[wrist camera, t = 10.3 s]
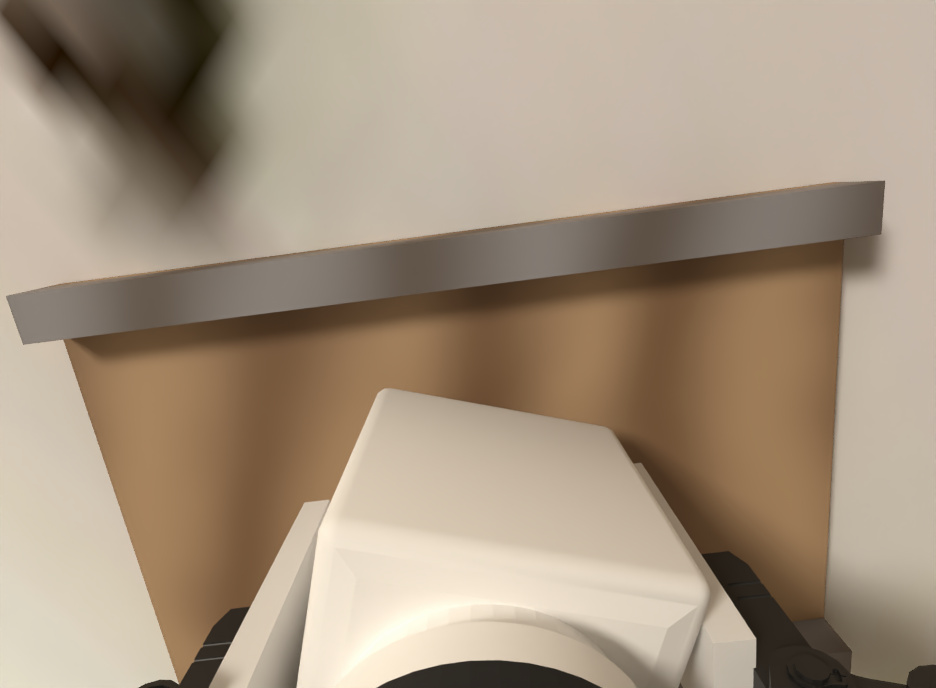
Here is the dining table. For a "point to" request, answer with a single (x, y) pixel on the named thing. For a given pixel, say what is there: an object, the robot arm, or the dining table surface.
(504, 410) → the medicine bottle
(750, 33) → the dining table surface
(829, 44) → the dining table surface
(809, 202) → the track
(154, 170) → the dining table surface
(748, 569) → the robot arm
